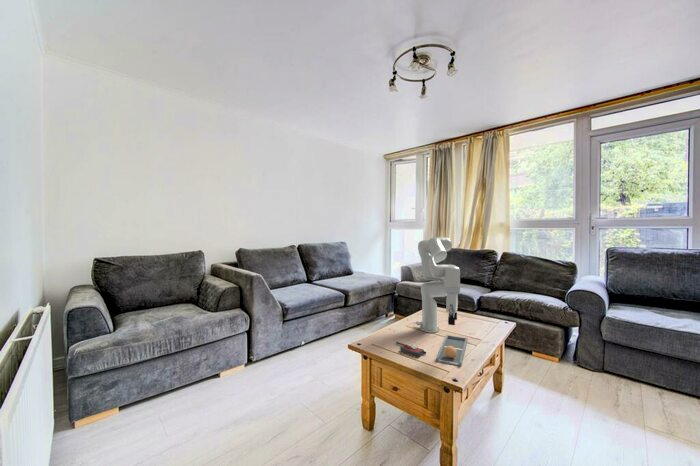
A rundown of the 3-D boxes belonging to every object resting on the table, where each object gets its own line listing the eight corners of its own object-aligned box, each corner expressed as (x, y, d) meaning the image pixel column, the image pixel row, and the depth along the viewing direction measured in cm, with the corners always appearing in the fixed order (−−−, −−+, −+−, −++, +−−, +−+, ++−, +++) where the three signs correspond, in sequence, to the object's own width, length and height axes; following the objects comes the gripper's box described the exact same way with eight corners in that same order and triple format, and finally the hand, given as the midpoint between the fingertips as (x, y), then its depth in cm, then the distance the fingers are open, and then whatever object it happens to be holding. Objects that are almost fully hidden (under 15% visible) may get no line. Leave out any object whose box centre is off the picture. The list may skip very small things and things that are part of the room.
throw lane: (436, 361, 147) (436, 357, 147) (446, 337, 178) (446, 334, 178) (461, 366, 142) (461, 362, 142) (467, 341, 173) (467, 338, 173)
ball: (443, 358, 149) (443, 347, 149) (445, 354, 155) (445, 343, 155) (455, 361, 147) (455, 349, 146) (457, 356, 152) (457, 345, 152)
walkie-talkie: (428, 354, 157) (396, 344, 170) (428, 346, 157) (396, 336, 170) (420, 359, 150) (388, 348, 164) (420, 351, 150) (388, 341, 164)
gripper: (447, 286, 162) (447, 317, 162) (442, 292, 146) (442, 326, 146) (461, 287, 158) (461, 318, 158) (458, 293, 143) (458, 328, 143)
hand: (452, 322), depth 152 cm, fingers open, 9 cm apart
